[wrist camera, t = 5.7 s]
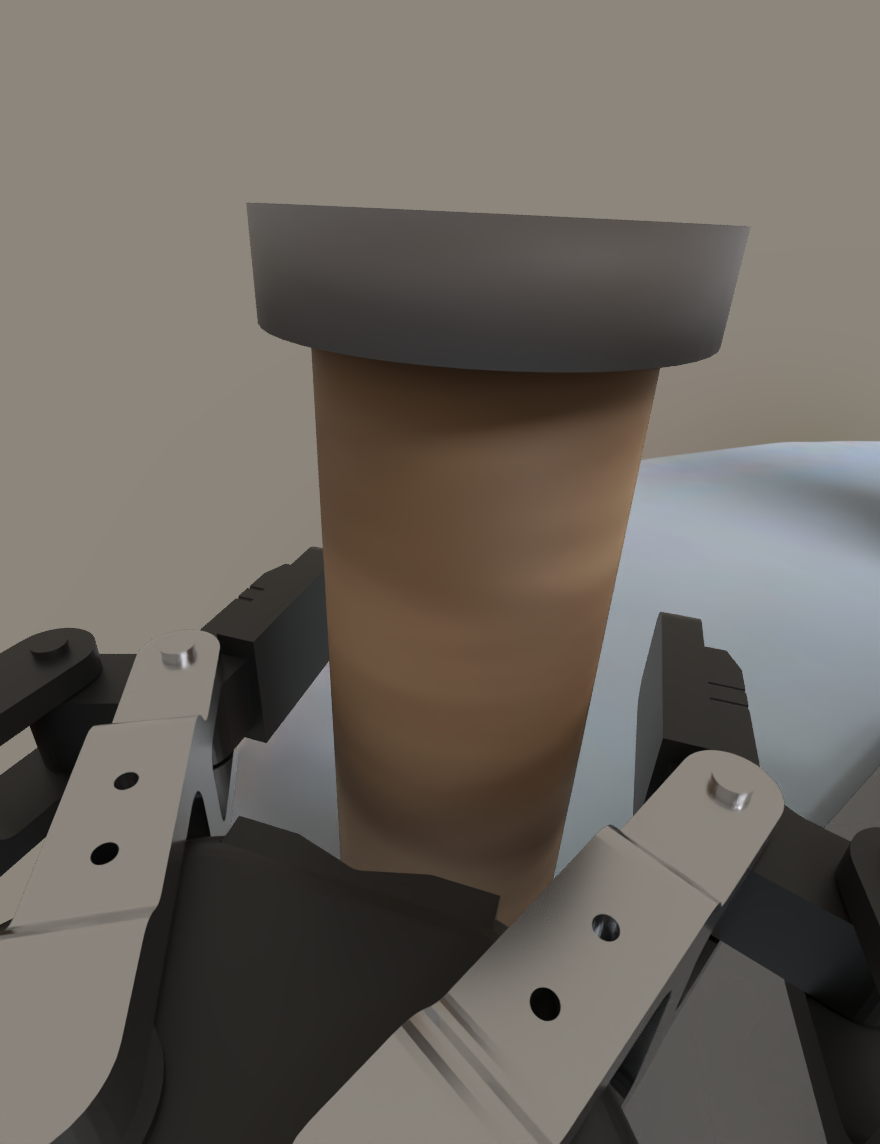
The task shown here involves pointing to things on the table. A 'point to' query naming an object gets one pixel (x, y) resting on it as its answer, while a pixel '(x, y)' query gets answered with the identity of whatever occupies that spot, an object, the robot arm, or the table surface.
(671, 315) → the walnut pin
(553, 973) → the robot arm
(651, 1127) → the socket block
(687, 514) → the table surface
